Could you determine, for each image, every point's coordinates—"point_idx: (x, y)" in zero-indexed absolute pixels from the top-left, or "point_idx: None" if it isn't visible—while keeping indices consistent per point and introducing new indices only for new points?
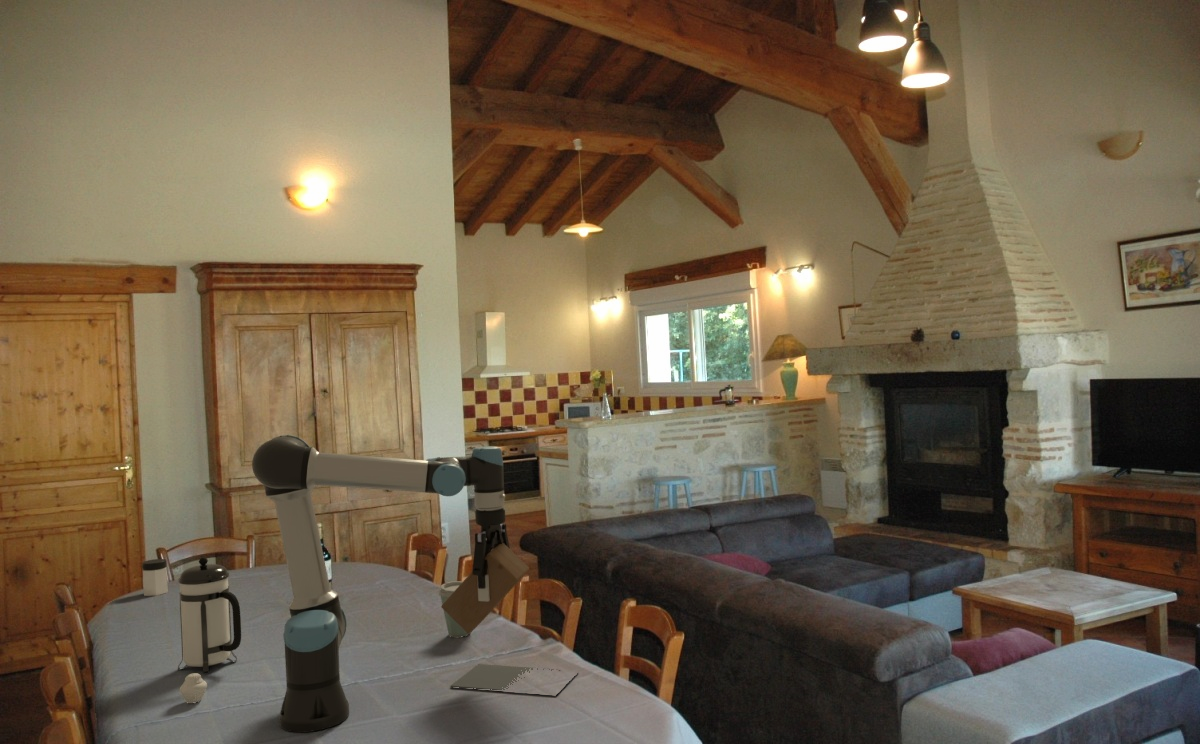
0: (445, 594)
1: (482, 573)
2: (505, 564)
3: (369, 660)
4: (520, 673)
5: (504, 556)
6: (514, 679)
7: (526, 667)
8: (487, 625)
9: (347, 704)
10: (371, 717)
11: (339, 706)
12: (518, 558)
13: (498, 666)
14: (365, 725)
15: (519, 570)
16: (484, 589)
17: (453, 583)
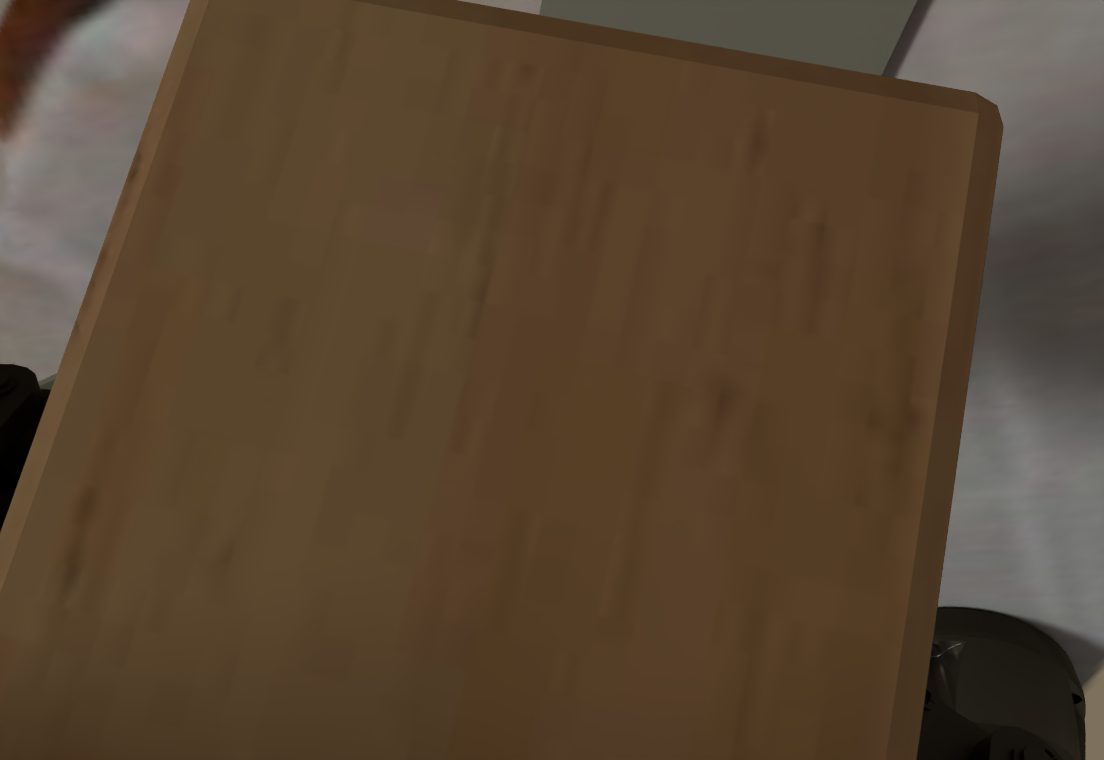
0: None
1: (1042, 748)
2: (822, 504)
3: None
4: (634, 23)
5: (513, 602)
6: (723, 43)
7: (544, 3)
8: (64, 276)
9: (972, 642)
10: (1003, 553)
11: (1035, 671)
12: (155, 249)
13: None
14: (1083, 564)
15: (598, 135)
16: None
17: None
